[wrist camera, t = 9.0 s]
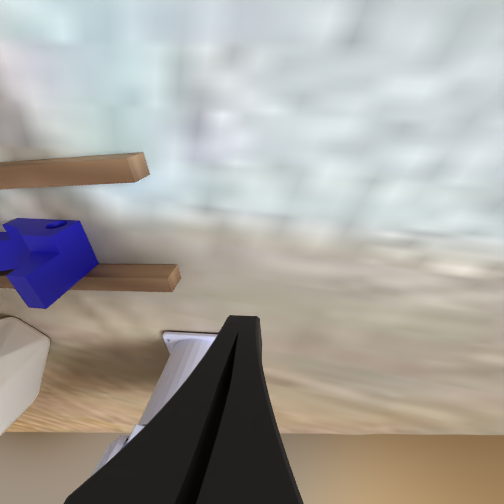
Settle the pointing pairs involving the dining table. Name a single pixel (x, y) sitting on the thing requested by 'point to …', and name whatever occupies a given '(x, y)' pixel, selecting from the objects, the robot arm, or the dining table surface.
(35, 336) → the vase
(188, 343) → the robot arm
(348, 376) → the dining table surface
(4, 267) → the cable clip
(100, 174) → the guide
